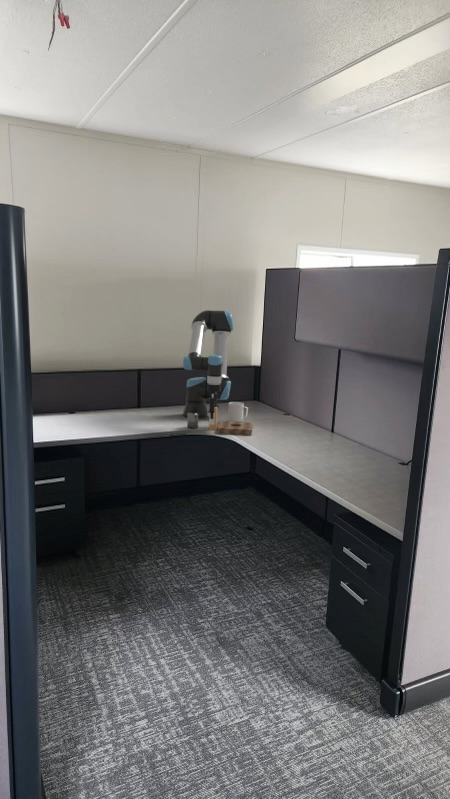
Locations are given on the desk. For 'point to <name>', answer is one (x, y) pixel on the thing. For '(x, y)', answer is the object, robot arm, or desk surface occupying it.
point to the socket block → (235, 428)
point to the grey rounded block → (192, 420)
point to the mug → (236, 411)
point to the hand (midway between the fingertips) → (213, 421)
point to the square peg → (214, 427)
